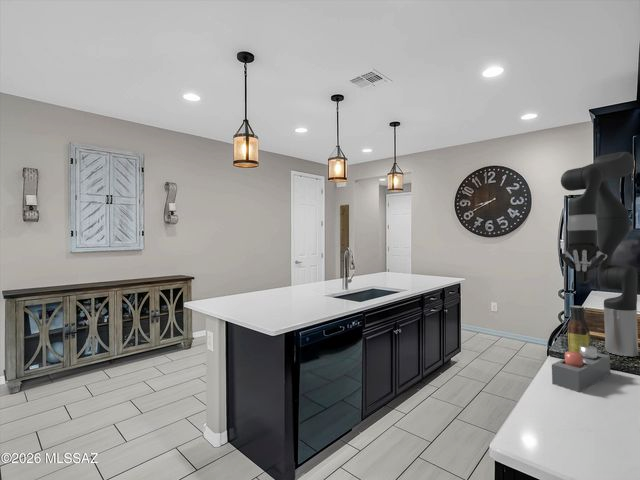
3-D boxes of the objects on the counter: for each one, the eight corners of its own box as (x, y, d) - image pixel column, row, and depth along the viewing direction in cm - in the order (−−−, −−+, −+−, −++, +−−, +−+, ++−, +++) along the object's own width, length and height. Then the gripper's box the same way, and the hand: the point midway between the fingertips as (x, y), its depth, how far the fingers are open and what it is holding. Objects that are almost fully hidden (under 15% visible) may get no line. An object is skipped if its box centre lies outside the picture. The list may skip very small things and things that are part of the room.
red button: (569, 366, 106) (568, 350, 106) (585, 370, 102) (585, 354, 102) (562, 369, 104) (562, 353, 104) (579, 373, 100) (578, 357, 100)
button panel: (584, 367, 114) (584, 349, 114) (610, 374, 108) (609, 355, 108) (552, 383, 103) (551, 364, 103) (578, 392, 97) (578, 371, 97)
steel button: (583, 359, 111) (583, 344, 111) (600, 363, 108) (599, 347, 108) (577, 362, 109) (577, 346, 109) (594, 366, 105) (593, 350, 105)
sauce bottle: (595, 366, 115) (593, 308, 115) (575, 365, 116) (573, 308, 116) (584, 359, 122) (582, 304, 122) (565, 358, 123) (563, 304, 123)
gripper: (612, 228, 104) (613, 284, 104) (564, 230, 116) (565, 280, 116) (602, 228, 101) (603, 285, 100) (553, 230, 112) (554, 281, 112)
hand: (583, 282), depth 108 cm, fingers closed
